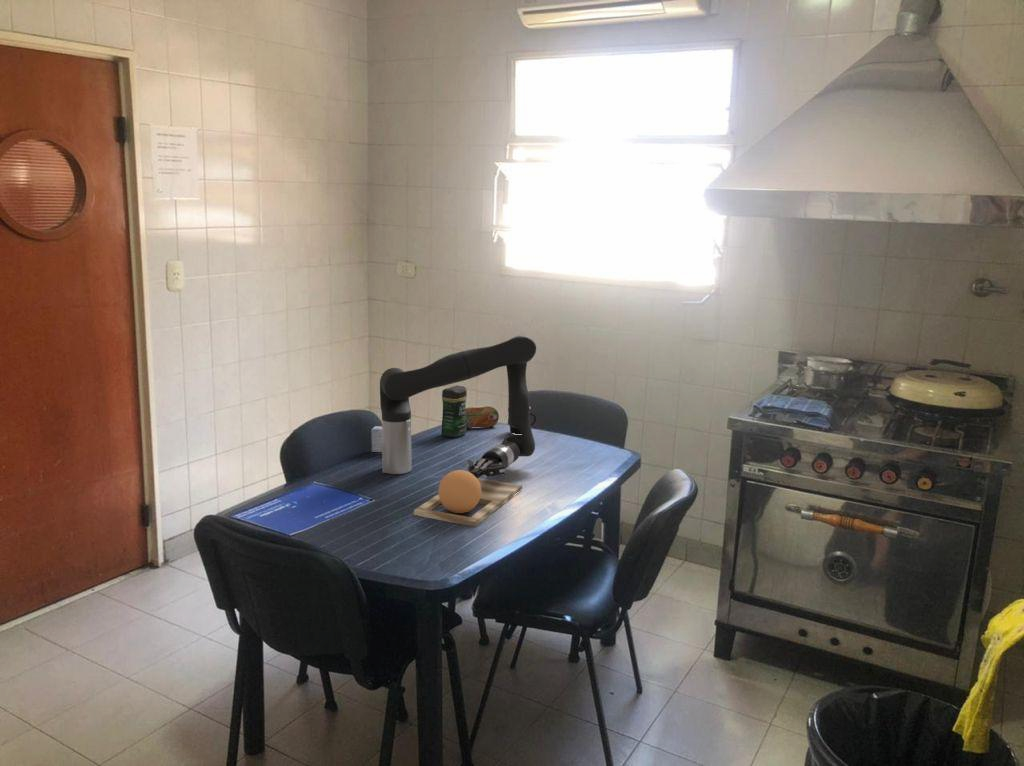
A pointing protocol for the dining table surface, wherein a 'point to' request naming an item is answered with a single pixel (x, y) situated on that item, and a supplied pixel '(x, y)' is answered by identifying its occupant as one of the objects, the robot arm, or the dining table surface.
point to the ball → (459, 491)
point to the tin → (481, 416)
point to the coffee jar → (454, 411)
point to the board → (490, 495)
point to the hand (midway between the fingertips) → (472, 475)
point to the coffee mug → (516, 430)
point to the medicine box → (377, 439)
